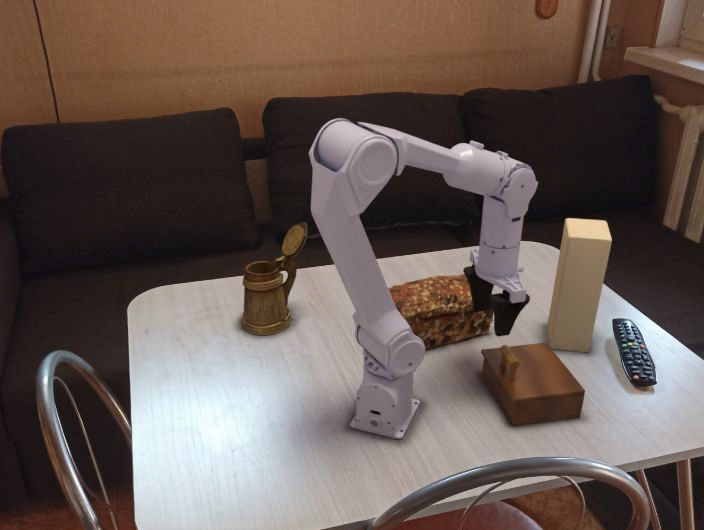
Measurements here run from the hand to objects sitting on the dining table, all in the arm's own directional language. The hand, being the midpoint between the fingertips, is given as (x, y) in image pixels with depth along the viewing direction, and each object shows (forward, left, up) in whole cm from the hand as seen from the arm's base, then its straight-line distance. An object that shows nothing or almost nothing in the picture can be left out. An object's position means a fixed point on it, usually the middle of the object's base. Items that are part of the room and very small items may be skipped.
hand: (491, 322), depth 107 cm
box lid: (-3, -7, -6) cm, 10 cm away
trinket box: (-2, -7, -10) cm, 13 cm away
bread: (+11, +12, -10) cm, 19 cm away
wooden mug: (+5, +40, -10) cm, 41 cm away
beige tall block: (+17, -11, -10) cm, 23 cm away
